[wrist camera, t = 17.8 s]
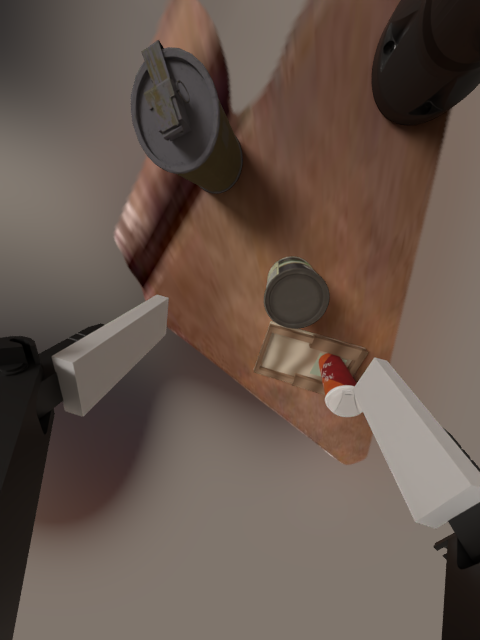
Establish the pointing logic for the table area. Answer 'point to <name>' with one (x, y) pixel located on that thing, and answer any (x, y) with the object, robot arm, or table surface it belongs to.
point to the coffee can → (295, 293)
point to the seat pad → (316, 368)
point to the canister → (184, 120)
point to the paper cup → (338, 386)
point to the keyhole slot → (302, 356)
